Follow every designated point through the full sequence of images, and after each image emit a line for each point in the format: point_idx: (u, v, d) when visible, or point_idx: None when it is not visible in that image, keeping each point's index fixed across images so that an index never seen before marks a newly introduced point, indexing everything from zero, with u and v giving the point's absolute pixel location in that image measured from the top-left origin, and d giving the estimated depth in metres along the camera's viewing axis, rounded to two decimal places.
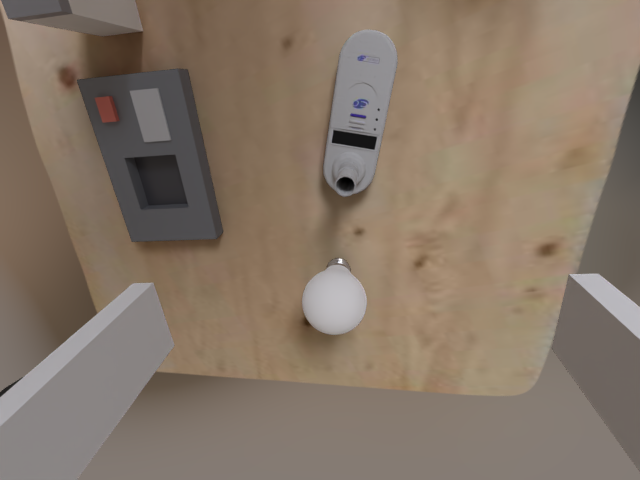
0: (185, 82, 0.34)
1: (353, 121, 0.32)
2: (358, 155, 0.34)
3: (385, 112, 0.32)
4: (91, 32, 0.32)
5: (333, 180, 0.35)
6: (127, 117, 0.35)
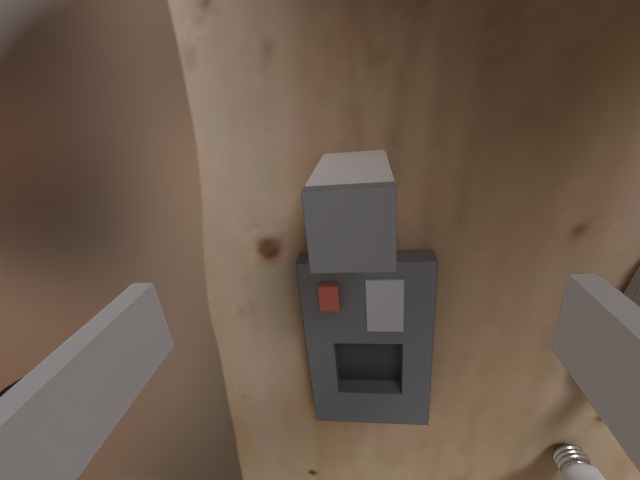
0: None
1: None
2: None
3: None
4: None
5: None
6: (351, 305, 0.28)
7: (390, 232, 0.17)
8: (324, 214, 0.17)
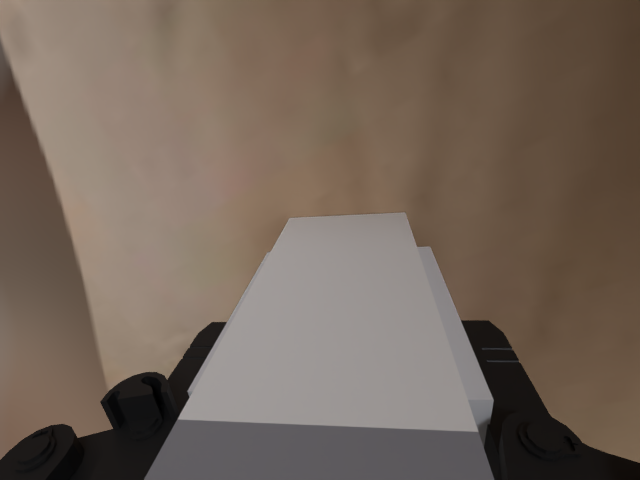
0: None
1: None
2: None
3: None
4: None
5: None
6: None
7: None
8: None
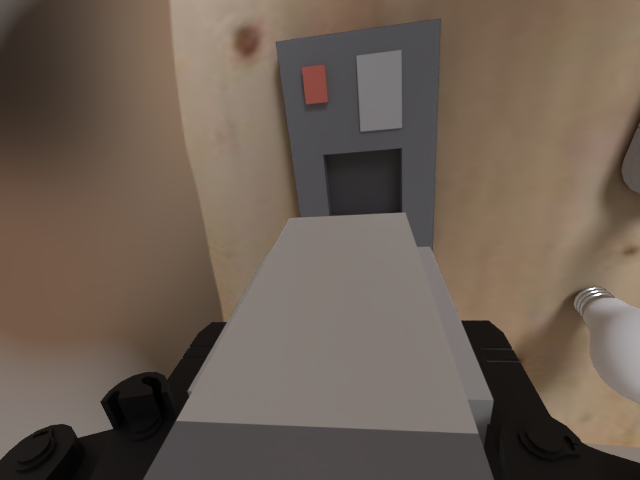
0: None
1: None
2: None
3: None
4: None
5: None
6: (341, 96, 0.24)
7: None
8: None
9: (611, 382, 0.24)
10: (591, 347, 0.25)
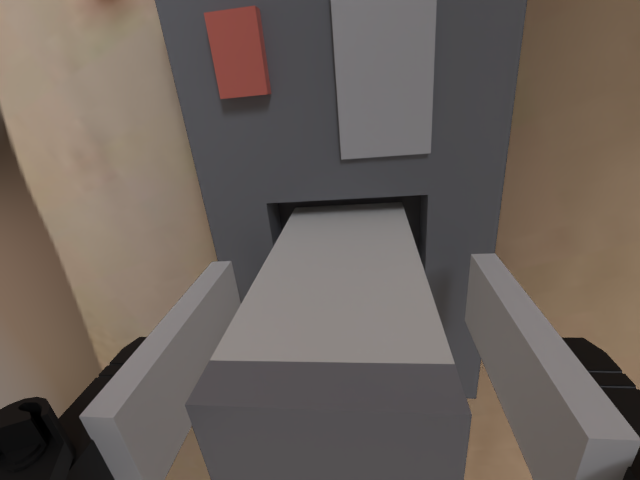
0: None
1: None
2: None
3: None
4: None
5: None
6: (299, 82, 0.11)
7: None
8: (257, 455, 0.06)
9: None
10: None
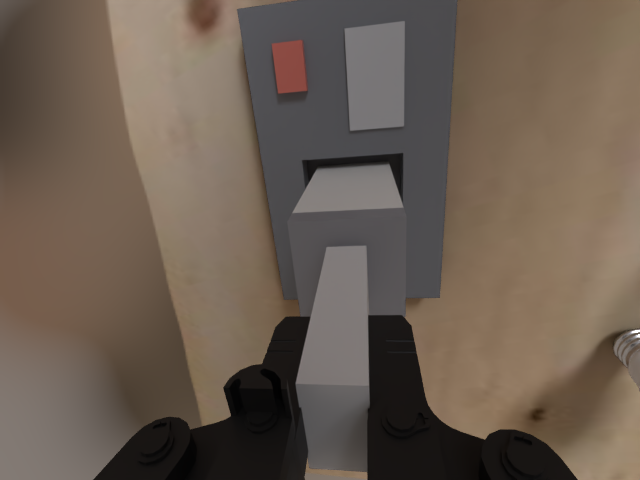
0: None
1: None
2: None
3: None
4: None
5: None
6: (325, 83, 0.19)
7: (398, 270, 0.13)
8: (316, 248, 0.13)
9: None
10: None
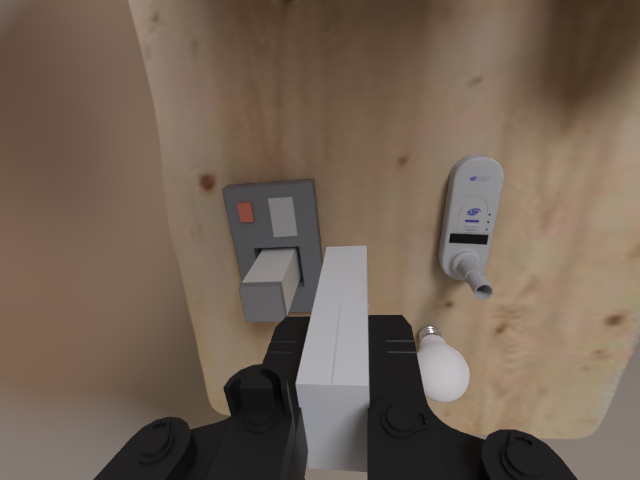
0: (313, 190, 0.41)
1: (467, 225, 0.39)
2: (472, 250, 0.40)
3: (495, 216, 0.38)
4: None
5: (451, 271, 0.41)
6: (261, 217, 0.42)
7: (280, 304, 0.37)
8: (250, 296, 0.37)
9: None
10: None
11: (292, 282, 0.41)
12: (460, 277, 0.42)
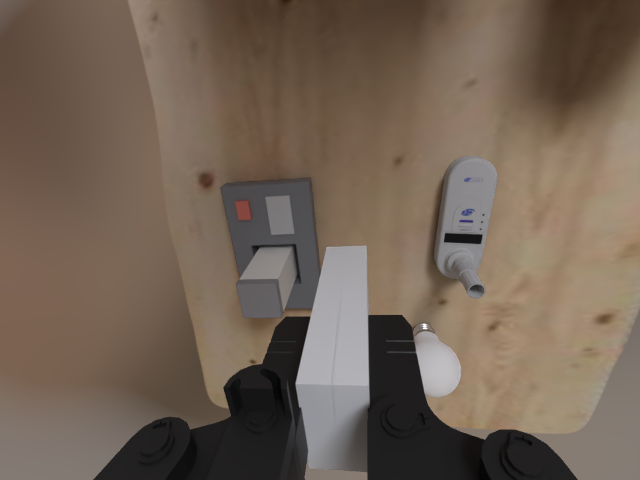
0: (310, 189, 0.41)
1: (462, 225, 0.40)
2: (467, 249, 0.41)
3: (489, 216, 0.39)
4: None
5: (446, 270, 0.42)
6: (259, 215, 0.43)
7: (276, 301, 0.37)
8: (247, 293, 0.37)
9: None
10: None
11: (289, 279, 0.42)
12: (455, 276, 0.42)
